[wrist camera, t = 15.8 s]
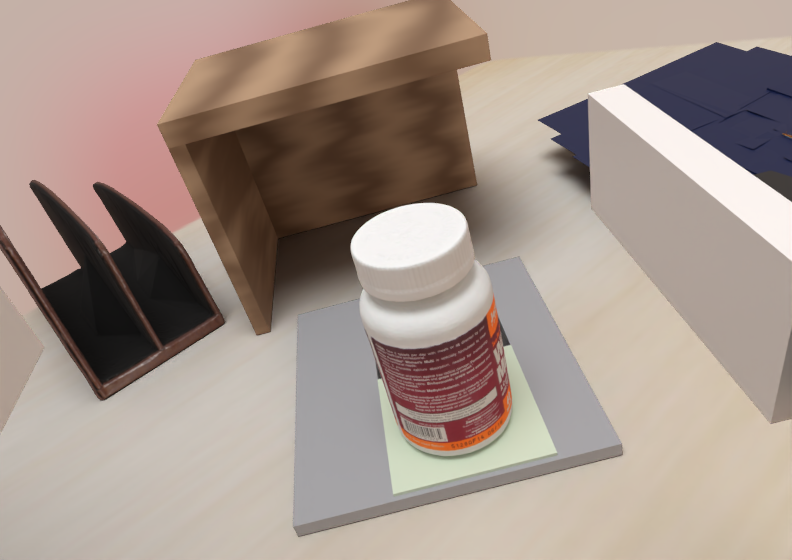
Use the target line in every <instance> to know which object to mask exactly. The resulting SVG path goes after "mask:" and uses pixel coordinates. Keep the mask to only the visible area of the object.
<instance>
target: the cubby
mask: <svg viewBox="0 0 792 560" xmlns="http://www.w3.org/2000/svg"><path fill="white" fill-rule="evenodd" d="M490 60H491V57H490V50H489V43H488V36H487V33H486V32H485V31H484V30H483V29H482V28H481V27H479V26H478V25H477V24H476V23H475V22H474V21H473V20H472V19H471V18H469V17H468V16H467V15H466V14H465V13H464V12H463V11H462V10H461V9H460V8H458V7H457V6H456V5H455V4H454V3H453V2H452V1H451V0H409V1H405V2H402V3H398V4H395V5H391V6H387V7H384V8H380V9H376V10H373V11H369V12H366V13H363V14H359V15H355V16H352V17H348V18H344V19H341V20H337V21H334V22H330V23H326V24H323V25H319V26H316V27H312V28H309V29H305V30H301V31H298V32H294V33H290V34H287V35H283V36H280V37H276V38H272V39H269V40H265V41H262V42H258V43H255V44H251V45H247V46H244V47H240V48H237V49H233V50H230V51H226V52H222V53H219V54H215V55H212V56H208V57H204V58H201V59H198V60H195V62H194V63H193V65H192V67H191V68H190V70H189V72H188V73H187V75H186V77H185V78H184V80H183V82H182V83H181V85H180V87H179V88H178V90H177V92H176V94H175V95H174V97H173V99H172V100H171V102H170V104H169V105H168V107H167V109H166V110H165V112H164V114H163V115H162V117H161V119H160V120H159V122H158V124H157V125H158V127H159V130H160V132H161V134H162V136H163V138H164V140H165V142H166V145H167V147H168V148H169V151H170V153H171V155H172V157H173V159H174V161H175V163H176V166H177V168H178V170H179V172H180V174H181V176H182V178H183V180H184V182H185V185H186V187H187V189H188V191H189V193H190V195H191V197H192V199H193V201H194V204H195V206H196V208H197V210H198V212H199V214H200V216H201V218H202V221H203V223H204V225H205V227H206V229H207V231H208V233H209V235H210V237H211V240H212V242H213V244H214V246H215V248H216V250H217V252H218V254H219V256H220V259H221V261H222V263H223V265H224V267H225V269H226V271H227V273H228V275H229V278H230V280H231V282H232V284H233V286H234V288H235V290H236V292H237V294H238V297H239V299H240V301H241V303H242V305H243V307H244V309H245V311H246V313H247V316H248V318H249V320H250V322H251V324H252V326H253V328H254V330H255V332H256V335H260V334H264V333H267V332H270V330H271V317H272V305H273V293H274V281H275V268H276V256H277V244H278V238H282V237H285V236H289V235H293V234H296V233H300V232H304V231H308V230H311V229H315V228H319V227H323V226H326V225H330V224H334V223H337V222H341V221H345V220H349V219H352V218H356V217H360V216H364V215H367V214H371V213H375V212H378V211H382V210H386V209H390V208H393V207H397V206H401V205H405V204H408V203H412V202H416V201H419V200H423V199H427V198H431V197H434V196H438V195H442V194H446V193H449V192H453V191H457V190H460V189H464V188H468V187H472V186H475V185H477V182H476V176H475V170H474V165H473V159H472V153H471V148H470V142H469V136H468V131H467V125H466V119H465V114H464V108H463V102H462V97H461V91H460V85H459V80H458V74H457V69H461V68H464V67H468V66H472V65H475V64H479V63H483V62H486V61H490Z"/></svg>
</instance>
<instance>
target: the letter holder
mask: <svg viewBox="0 0 792 560" xmlns="http://www.w3.org/2000/svg"><path fill="white" fill-rule="evenodd" d="M29 185H30V188H31V189H32V190H33V192H34V194H35V195H36V197H37V198H38V200H39V201H40V203H41V205H42V206H43V208H44V210H45V211H46V213H47V215H48V216H49V218H50V219H51V221H52V222H53V224H54V225H55V227H56V229H57V230H58V232H59V233H60V235H61V236H62V238H63V240H64V241H65V243H66V245H67V246H68V248H69V249H70V251H71V252H72V254H73V256H74V257H75V259H76V260H77V262H78V263H79V265H80V266H81V269H77V270H76V271H74V272H72V273H71V274H69V275H67V276H65V277H64V278H61V279H60V280H58V281H56V282H54V283H52V284H50V285H48V286H46V287H44V288H42V289H41V288H40V286H39V285H38V284H37V282H36V280H35V279H34V277H33V275H32V274H31V272H30V271H29V269H28V268H27V266H26V265H25V263H24V261H23V260H22V258H21V257H20V255H19V254H18V252H17V251H16V249H15V248H14V246H13V244H12V243H11V241H10V239H9V238H8V236H7V235H6V233H5V232H4V230H3V229H2V227H1V226H0V249H1V251H2V252H3V253H4V255H5V256H6V258H7V259H8V261H9V262H10V264H11V265H12V267H13V269H14V270H15V272H16V273H17V275H18V276H19V278H20V279H21V281H22V282H23V284H24V285H25V287H26V288H27V289H28V292H29V293H30V295H31V296H32V298H33V299H34V301H35V302H36V304H37V306H38V307H39V309H40V310H41V312H42V313H43V315H44V316H45V318H46V319H47V321H48V322H49V324H50V325H51V327H52V328H53V330H54V331H55V333H56V334H57V336H58V337H59V339H60V341H61V342H62V344H63V345H64V347H65V348H66V350H67V352H68V353H69V355H70V356H71V358H72V359H73V360H74V362H75V363H76V365H77V366H78V368H79V369H80V370H81V372H82V373H83V375H84V376H85V378H86V379H87V381H88V383H89V384H90V386H91V388H92V390H93V391H94V393H95V394H96V396H97V397H98V398H99V399H100V400H105V399H107V398H108V397H110V396H112V395H113V394H115V393H116V392H118V391H120V390H121V389H123V388H124V387H126V386H128V385H129V384H131V383H132V382H134V381H135V380H137V379H138V378H140V377H142V376H143V375H145V374H146V373H148V372H150V371H151V370H153V369H154V368H156V367H157V366H159V365H161V364H162V363H164V362H165V361H167V360H168V359H170V358H172V357H173V356H175V355H176V354H178V353H179V352H181V351H183V350H184V349H186V348H187V347H189V346H190V345H192V344H193V343H195V342H197V341H198V340H200V339H201V338H203V337H205V336H206V335H208V334H209V333H211V332H212V331H214V330H215V329H217V328H219V327H220V326H222V325H223V324H224V318H223V316H222V314H221V313H220V311H219V309H218V307H217V305H216V304H215V302H214V300H213V298H212V296H211V295H210V293H209V291H208V289H207V288H206V286H205V284H204V282H203V280H202V278H201V276H200V275H199V273H198V271H197V270H196V268H195V266H194V264H193V262H192V260H191V258H190V257H189V255H188V253H187V252H186V250H185V249H184V247H183V245H182V244H181V243H180V242H179V240H178V239H177V238H176V237H175V236H174V235H173V234H172V233H171V232H170V231H169V230H168V229H167V228H166V227H165V226H164V225H163V224H161V223H160V222H159V221H158V220H157V219H155V218H154V217H153V216H151V215H150V214H149V213H148V212H146V211H145V210H143V209H142V208H141V207H140V206H138V205H137V204H136V203H134V202H133V201H131V200H130V199H128V198H127V197H126V196H124V195H123V194H121V193H119V192H118V191H116V190H115V189H114V188H112V187H110V186H108V185H106V184H104V183H100V182H96V183H95V184H93V188H94V190H95V192H96V193H97V194H98V196H99V197H100V199H101V200H102V202H103V204H104V205H105V207H106V209H107V210H108V212H109V213H110V215H111V217H112V218H113V220H114V222H115V223H116V225H117V227H118V228H119V230H120V232H121V233H122V235H123V237H124V238H125V240H126V243H125V244H124V245H123V246H122V247H121V248H119V249H117V250H115V251H113V252H111V253H109V252H108V251H107V249H106V247H105V246H104V245H103V243H102V242H101V241H100V239H99V238H98V237H97V235H95V233H94V232H93V231H92V230H91V229H90V228H89V227H88V226H87V225H86V224H85V223H84V222H83V221H82V220H81V219H80V218H79V217H78V216H77V215H76V214H75V213H74V212H73V211H72V210H71V209H70V208H69V207H68V206H67V205H66V204H65V203H64V202H63V201H62V200H61V199H60V198H59V197H57V196H56V195H55V194H54V193H53V192H52V191H51V190H49V189H48V188H47V187H46V186H44V185H43V184H41V183H40V182H38V181H36V180H32V181H31V183H30V184H29Z"/></svg>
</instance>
